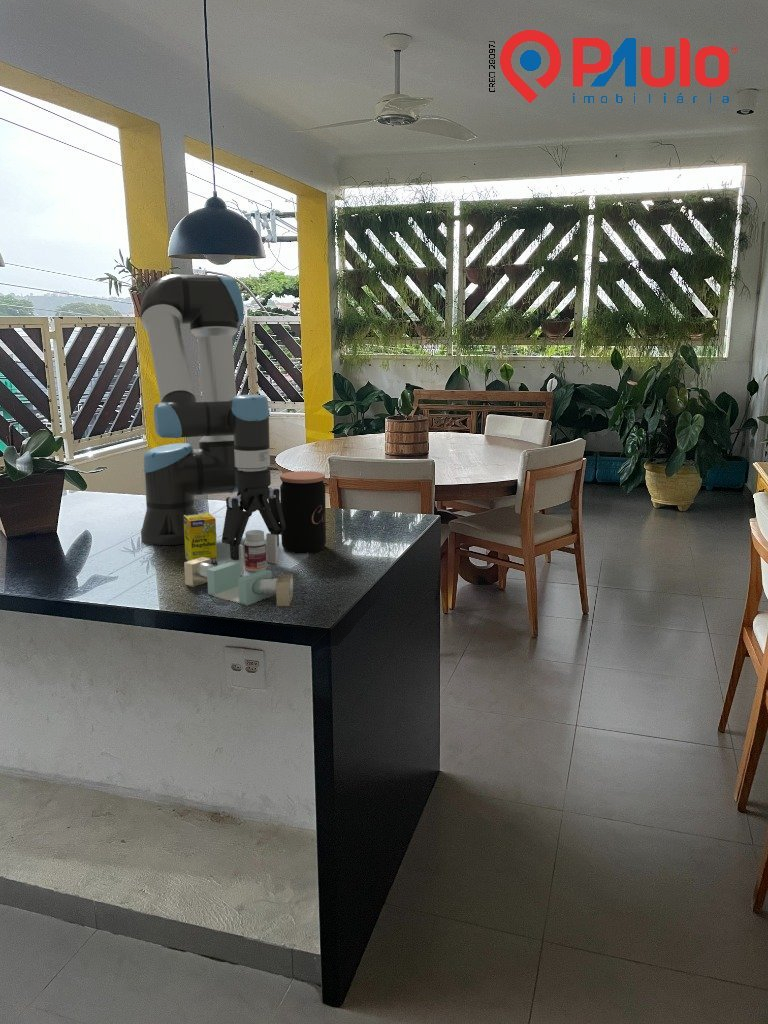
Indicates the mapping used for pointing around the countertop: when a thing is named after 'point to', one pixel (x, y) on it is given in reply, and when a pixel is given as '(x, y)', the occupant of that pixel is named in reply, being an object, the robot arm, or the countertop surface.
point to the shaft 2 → (276, 588)
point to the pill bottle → (255, 551)
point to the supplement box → (200, 537)
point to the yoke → (235, 583)
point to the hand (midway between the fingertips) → (255, 567)
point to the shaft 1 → (197, 571)
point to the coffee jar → (303, 511)
